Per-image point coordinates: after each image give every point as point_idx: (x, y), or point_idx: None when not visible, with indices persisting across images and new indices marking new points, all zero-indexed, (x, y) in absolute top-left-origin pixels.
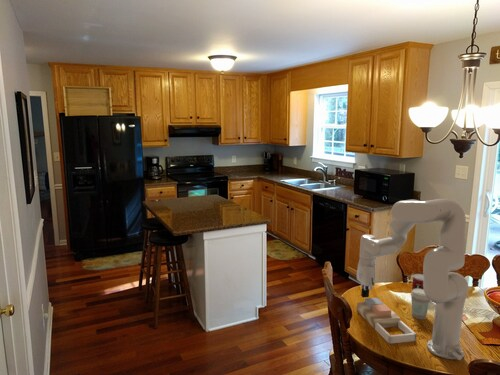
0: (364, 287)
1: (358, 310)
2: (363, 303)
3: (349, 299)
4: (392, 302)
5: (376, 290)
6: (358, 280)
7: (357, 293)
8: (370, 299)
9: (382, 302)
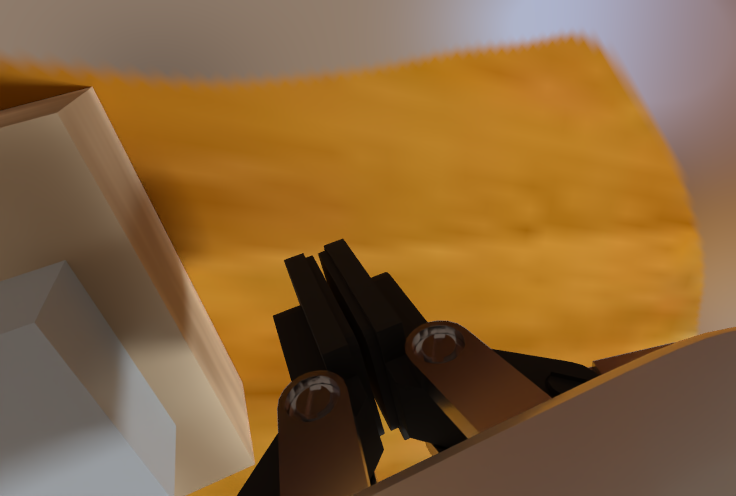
0: (311, 444)
1: (21, 108)
2: (61, 240)
3: (465, 51)
4: (388, 467)
5: (601, 357)
6: (631, 382)
7: (589, 188)
8: (28, 426)
9: (202, 487)
